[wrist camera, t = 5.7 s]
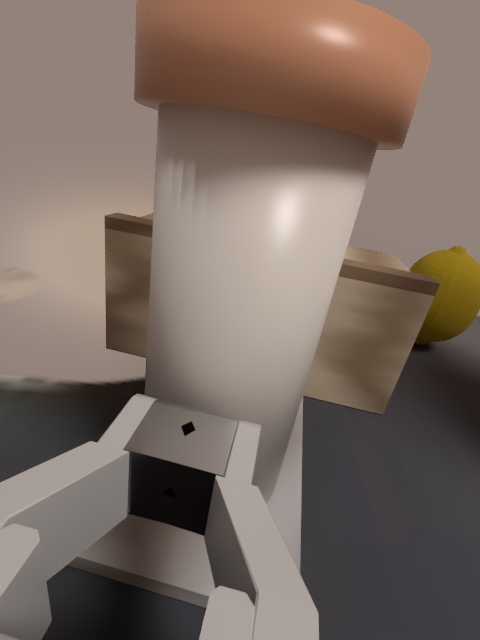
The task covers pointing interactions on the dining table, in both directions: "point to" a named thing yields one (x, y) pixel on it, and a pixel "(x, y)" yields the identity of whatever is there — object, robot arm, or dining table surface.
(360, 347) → the brown wooden block
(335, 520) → the dining table surface
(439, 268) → the lemon
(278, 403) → the knob
